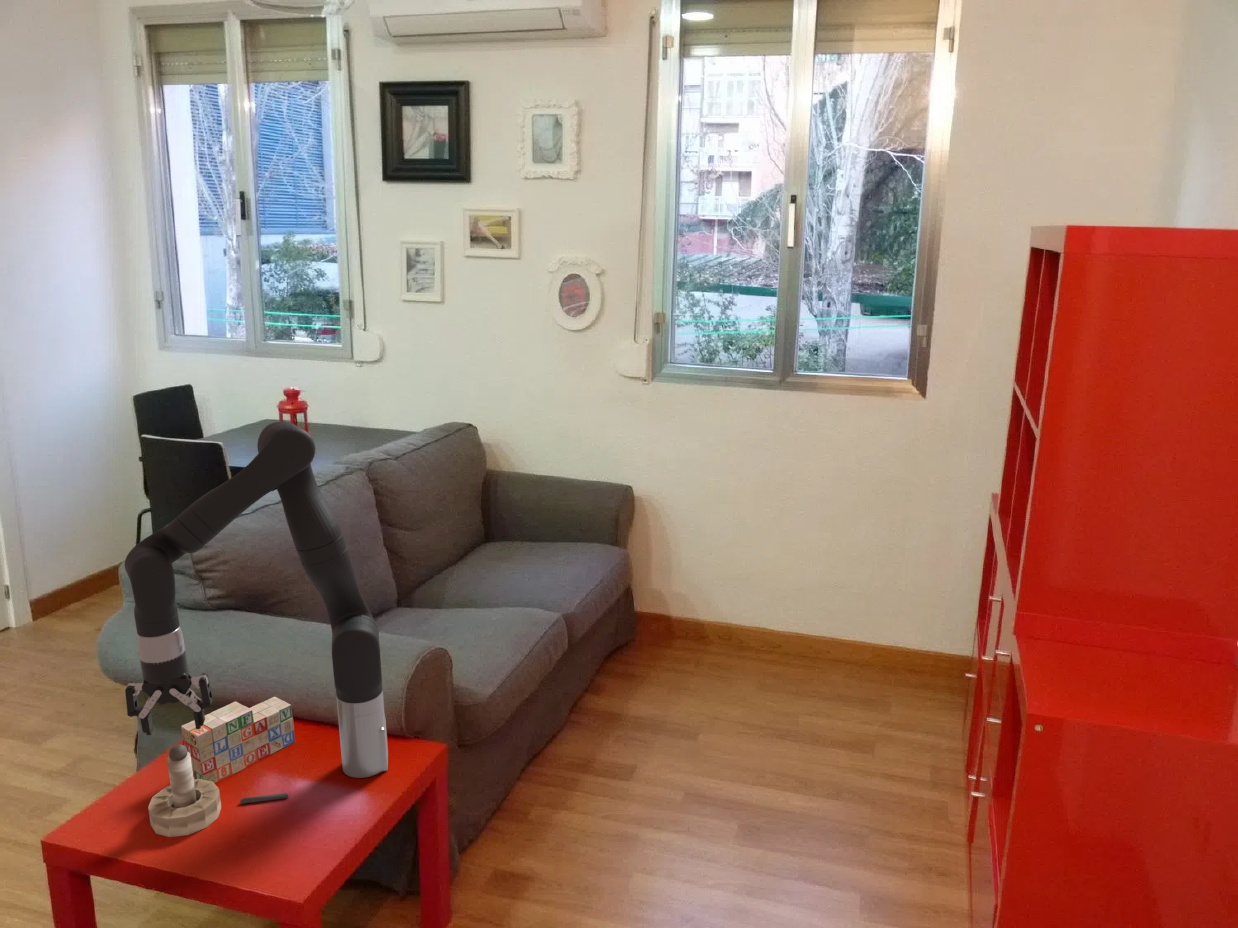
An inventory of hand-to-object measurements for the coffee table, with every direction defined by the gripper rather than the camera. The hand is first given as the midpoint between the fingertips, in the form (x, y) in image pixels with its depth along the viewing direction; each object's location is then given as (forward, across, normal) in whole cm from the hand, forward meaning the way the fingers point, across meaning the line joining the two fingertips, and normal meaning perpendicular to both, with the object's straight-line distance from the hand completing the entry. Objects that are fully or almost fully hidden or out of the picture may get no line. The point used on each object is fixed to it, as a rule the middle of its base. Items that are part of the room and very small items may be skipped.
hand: (174, 729), depth 175 cm
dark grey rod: (+19, -14, -2) cm, 24 cm away
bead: (+19, 0, 0) cm, 19 cm away
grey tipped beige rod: (+19, 0, 0) cm, 19 cm away
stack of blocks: (+19, -7, -18) cm, 27 cm away
